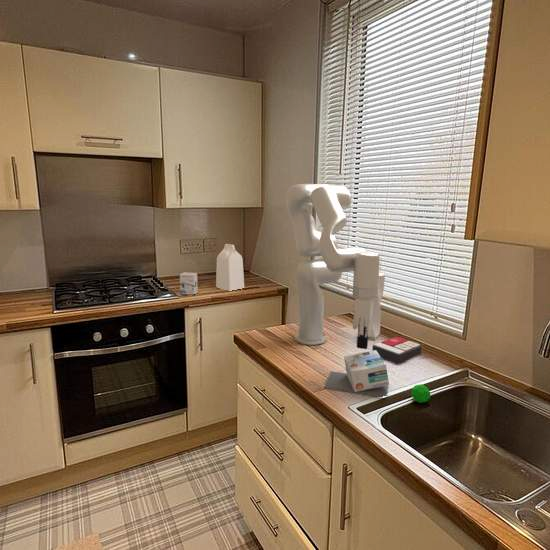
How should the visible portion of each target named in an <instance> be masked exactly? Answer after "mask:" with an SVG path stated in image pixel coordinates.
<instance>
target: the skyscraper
mask: <svg viewBox="0 0 550 550" xmlns="http://www.w3.org/2000/svg"><path fill="white" fill-rule="evenodd" d="M380 270H381V266H379V271H380ZM385 280H386V273H382V272H379V280H378V296H377V298H376V299H373V311H372V319H371V324H370V327H369V330H368V335H367V336H368V340H369V341H376V340H377V339H378V337H380V335H381V323H382V322H381V303H382V299H383V295H384V290H385V289H384V288H385Z"/></svg>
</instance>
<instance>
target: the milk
mask: <svg viewBox="0 0 550 550" xmlns="http://www.w3.org/2000/svg"><path fill="white" fill-rule="evenodd" d="M215 273H216V278H215V279H216V280H215V281H216V282H215V288H216V287H217V288H220V289H224V290H228V291H232V290H237V289H241V290H243V289H242V288H245V277H244V276H245V275H244V262H243V256H242V255H241V254H240V253H239V252H238V251H237V250H236V248H235V244H231V243H230V244H229V243H225V244H224V247H223V249H222V250H221V251H220V253H218V255H217V257H216V272H215ZM237 291H238V290H237Z"/></svg>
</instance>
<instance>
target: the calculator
mask: <svg viewBox="0 0 550 550" xmlns="http://www.w3.org/2000/svg"><path fill="white" fill-rule="evenodd" d="M422 347H423V346H422V345H421V344H420V343H417V342H415V341H410V340H407V339H404V338H402V337H398V336H394V337H392V338H389V339H386V340H383V341H381V342H378V343H375V344H373V345H372V349H371V351H374V350H376V351H377V352H378V354H379V355H380V357H381V358H382V360H386V361H389V362H390V361H391V363H393V362H394V363H393V364H396V365H400V364H402V363H404V362H406V360H410V359H412V358H414V357H416V356H418V355H420V354H421V353H422Z"/></svg>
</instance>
